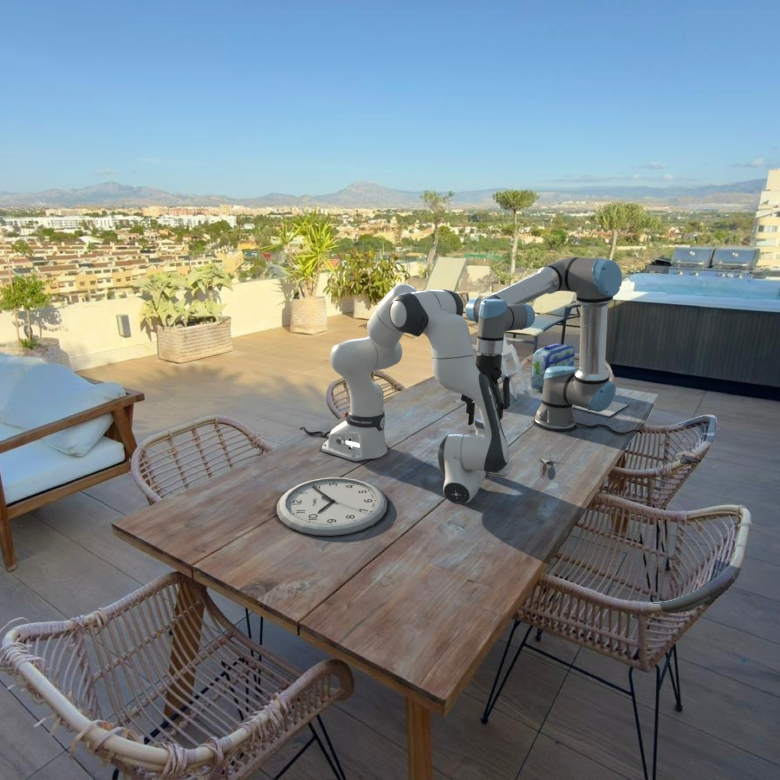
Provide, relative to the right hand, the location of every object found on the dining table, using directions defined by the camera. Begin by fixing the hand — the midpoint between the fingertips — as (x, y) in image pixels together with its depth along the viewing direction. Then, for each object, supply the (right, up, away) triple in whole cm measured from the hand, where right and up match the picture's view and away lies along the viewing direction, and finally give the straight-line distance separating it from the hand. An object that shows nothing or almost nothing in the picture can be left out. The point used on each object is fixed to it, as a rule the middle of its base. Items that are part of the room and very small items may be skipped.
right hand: (483, 426), depth 159 cm
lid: (0, +2, 0) cm, 2 cm away
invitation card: (+63, +4, +67) cm, 92 cm away
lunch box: (+49, +12, +93) cm, 106 cm away
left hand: (0, -8, +4) cm, 9 cm away
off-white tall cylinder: (0, -15, +5) cm, 16 cm away
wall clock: (-44, -21, -16) cm, 51 cm away
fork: (+22, -14, +9) cm, 27 cm away
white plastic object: (+13, +10, +84) cm, 86 cm away
